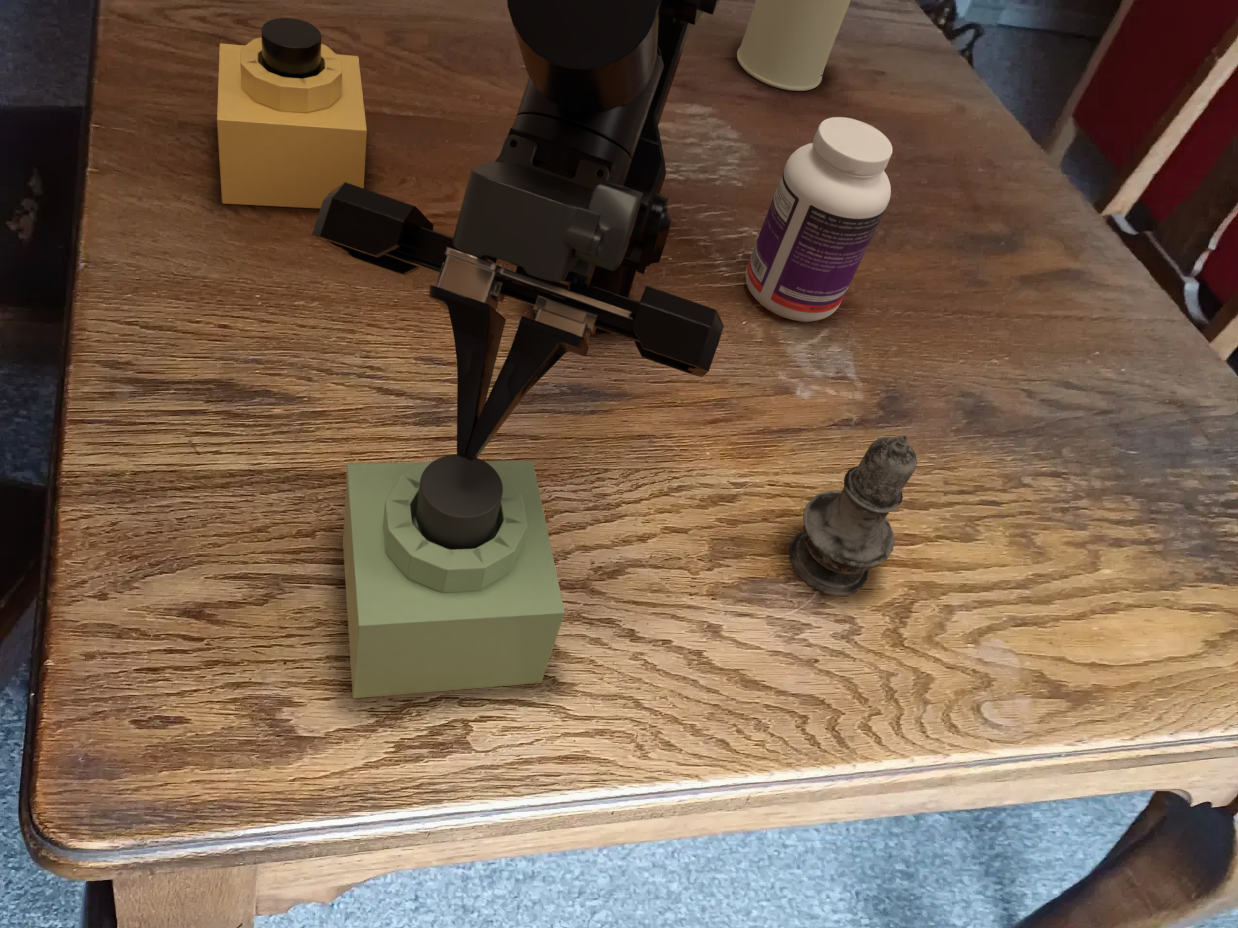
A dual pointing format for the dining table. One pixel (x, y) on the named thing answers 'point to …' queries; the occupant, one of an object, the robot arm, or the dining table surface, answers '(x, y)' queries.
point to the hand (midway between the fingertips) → (465, 458)
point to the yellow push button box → (288, 129)
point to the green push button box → (445, 588)
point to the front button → (458, 501)
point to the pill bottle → (821, 220)
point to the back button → (291, 48)
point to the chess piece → (853, 520)
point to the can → (791, 41)
